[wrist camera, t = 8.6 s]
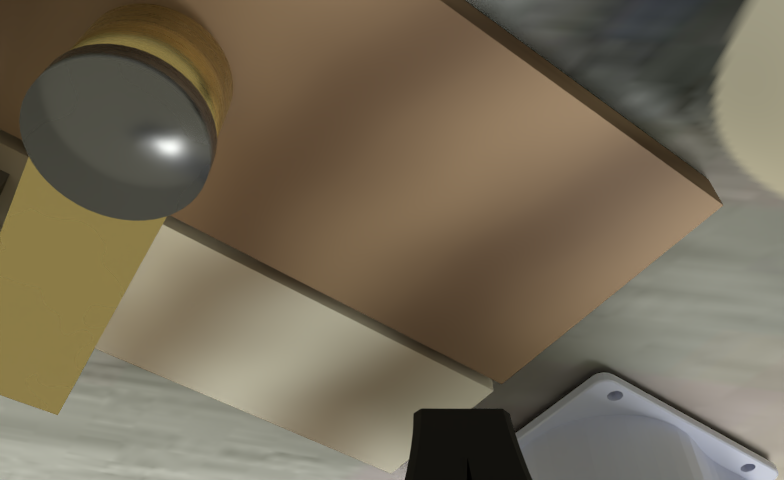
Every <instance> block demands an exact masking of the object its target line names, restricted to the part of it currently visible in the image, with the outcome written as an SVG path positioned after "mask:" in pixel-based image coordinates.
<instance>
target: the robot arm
mask: <svg viewBox="0 0 784 480" xmlns="http://www.w3.org/2000/svg"><path fill="white" fill-rule="evenodd" d="M613 391H614V392H613ZM777 476H778V471H777V468H776V466H775V465H774V464H773V463H772V462H770V461H768V460H767V459H765V458H763V457H761V456H759V455H758V454H756V453H754V452H752V451H750V450H749V449H747V448H745V447H743V446H741V445H740V444H738V443H736V442H734V441H732V440H731V439H729V438H727V437H725V436H723V435H722V434H720V433H718V432H716V431H714V430H713V429H711V428H709V427H707V426H705V425H703V424H702V423H700V422H698V421H696V420H694V419H693V418H691V417H689V416H687V415H685V414H684V413H682V412H680V411H678V410H676V409H675V408H673V407H671V406H669V405H667V404H666V403H664V402H662V401H660V400H658V399H657V398H655V397H653V396H651V395H649V394H648V393H646V392H644V391H642V390H640V389H639V388H637V387H635V386H633V385H631V384H630V383H628V382H626V381H624V380H622V379H620V378H619V377H617V376H615V375H613V374H610V373H604V372H602V373H597V374H595V375H593V376H592V377H590V378H589V379H588V380H586V381H585V382H584V383H582V384H581V385H580V386H578V387H577V388H576V389H574V390H573V391H572V392H570V393H569V394H568V395H566V396H565V397H564V398H562V399H561V400H559V401H558V402H557V403H555V404H554V405H553V406H551V407H550V408H549V409H547V410H546V411H545V412H543V413H542V414H541V415H539V416H538V417H537V418H535V419H534V420H533V421H531V422H530V423H529V424H527V425H526V426H525V427H523V428H522V429H520V430H519V431H518V432H516V433H515V431H514V428H513V425H512V421H511V418H510V414H509V413H508V412H506V411H505V410H504V409H431V408H421V409H420V410H418V411H416V412H415V413H414V415H413V434H412V442H411V450H410V456H409V462H408V467H407V472H406V477H405V480H775V479H776V478H777Z"/></svg>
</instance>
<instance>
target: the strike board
mask: <svg viewBox="0 0 784 480" xmlns="http://www.w3.org/2000/svg"><path fill="white" fill-rule="evenodd" d="M134 3H147V4H156V5H160V6H164V7H168V8H170V9H173V10H176V11H178V12H180V13H182V14H184V15H186V16H188V17H190V18H191V19H193V20H194V21H196V22H197V23H198V24H200V25H201V26H202V27H203V28H205V29H206V30H207V31H208V32H209V33H210V34H211V35H212V36H213V38H214V39H215V40H216V42H217V43H218V44H219V45H220V47H221V49H222V50H223V52H224V54H225V56H226V58H227V60H228V62H229V65H230V68H231V72H232V77H233V97H232V101H231V105H230V108H229V110H228V113H227V115H226V118H225V120H224V123H223V125H222V128H221V130H220V133H219V135H218V138H217V149H216V155H215V158H214V162H213V164H212V167H211V169H210V172H209V175H208V177H207V180H206V182H205V184H204V186H203V188H202V190H201V191H200V193H199V194H198V196H197V197H196V198H195V199H194V200H193V201H192V202H191V203H190V204H188V205H187V206H186V207H184V208H183V209H181V210H180V211H178V212H176V213H174V214H171V215H169V216H167V217H166V219H165V221H164V223H163V225H162V226H161V228H160V230H159V232H158V234H157V236H156V237H155V239H154V241H153V243H152V245H151V246H150V248H149V250H148V252H147V254H146V256H145V257H144V259H143V261H142V263H141V265H140V266H139V268H138V270H137V272H136V274H135V276H134V277H133V279H132V281H131V283H130V285H129V286H128V288H127V290H126V292H125V294H124V295H123V297H122V299H121V301H120V303H119V305H118V306H117V308H116V310H115V312H114V314H113V315H112V317H111V319H110V321H109V323H108V325H107V326H106V328H105V330H104V332H103V334H102V335H101V337H100V339H99V341H98V343H97V345H96V346H95V349H98V350H100V351H102V352H105V353H107V354H109V355H112V356H114V357H117V358H119V359H121V360H124V361H126V362H128V363H131V364H133V365H135V366H138V367H140V368H143V369H145V370H147V371H150V372H152V373H154V374H157V375H159V376H161V377H164V378H166V379H169V380H171V381H173V382H176V383H178V384H180V385H183V386H185V387H187V388H190V389H192V390H195V391H197V392H199V393H202V394H204V395H206V396H209V397H211V398H214V399H216V400H218V401H221V402H223V403H225V404H228V405H230V406H232V407H235V408H237V409H240V410H242V411H244V412H247V413H249V414H251V415H254V416H256V417H258V418H261V419H263V420H266V421H268V422H270V423H273V424H275V425H277V426H280V427H282V428H284V429H287V430H289V431H292V432H294V433H296V434H299V435H301V436H303V437H306V438H308V439H310V440H313V441H315V442H318V443H320V444H322V445H325V446H327V447H329V448H332V449H334V450H337V451H339V452H341V453H344V454H346V455H348V456H351V457H353V458H355V459H358V460H360V461H363V462H365V463H367V464H370V465H372V466H374V467H377V468H379V469H381V470H384V471H386V472H389V473H393V472H394V471H395V470H396V469H398V468H399V467H400V466H401V465H402V464H404V463H405V462H406V461H407V460H409V456H410V450H411V442H412V434H413V415H414V413H415V412H416V411H418V410H420V409H421V408H431V409H472V408H473V407H474V406H475V405H477V404H478V403H479V402H480V401H482V400H483V399H484V398H485V397H487V396H488V395H489V394H490V393H492V392H493V391H494V389H493V381H492V380H494V381H496V382H498V383H500V384H503V383H504V382H505V381H506V380H508V379H509V378H510V377H511V376H513V375H514V374H515V373H516V372H518V371H519V370H520V369H521V368H523V367H524V366H525V365H526V364H527V363H529V362H530V361H531V360H532V359H534V358H535V357H536V356H537V355H539V354H540V353H541V352H542V351H544V350H545V349H546V348H547V347H548V346H550V345H551V344H552V343H553V342H555V341H556V340H557V339H558V338H560V337H561V336H562V335H563V334H565V333H566V332H567V331H568V330H570V329H571V328H572V327H573V326H574V325H576V324H577V323H578V322H579V321H581V320H582V319H583V318H584V317H586V316H587V315H588V314H589V313H591V312H592V311H593V310H594V309H596V308H597V307H598V306H599V305H600V304H602V303H603V302H604V301H605V300H607V299H608V298H609V297H610V296H612V295H613V294H614V293H615V292H617V291H618V290H619V289H620V288H621V287H623V286H624V285H625V284H626V283H628V282H629V281H630V280H631V279H633V278H634V277H635V276H636V275H638V274H639V273H640V272H641V271H643V270H644V269H645V268H646V267H647V266H649V265H650V264H651V263H652V262H654V261H655V260H656V259H657V258H659V257H660V256H661V255H662V254H664V253H665V252H666V251H667V250H669V249H670V248H671V247H672V246H673V245H675V244H676V243H677V242H678V241H680V240H681V239H682V238H683V237H685V236H686V235H687V234H688V233H690V232H691V231H692V230H693V229H694V228H696V227H697V226H698V225H699V224H701V223H702V222H703V221H704V220H706V219H707V218H708V217H709V216H711V215H712V214H713V213H714V212H716V211H717V210H718V209H719V208H720V207H722V206H723V204H722V202H721V200H720V199H719V197H718V195H717V193H716V192H715V190H714V188H713V187H712V185H711V183H710V181H709V180H708V179H707V178H706V177H704V176H703V175H702V174H700V173H699V172H698V171H696V170H695V169H693V168H692V167H691V166H689V165H688V164H687V163H685V162H684V161H683V160H681V159H680V158H679V157H677V156H676V155H674V154H673V153H672V152H670V151H669V150H668V149H666V148H665V147H664V146H662V145H661V144H659V143H658V142H657V141H655V140H654V139H653V138H651V137H650V136H649V135H647V134H646V133H644V132H643V131H642V130H640V129H639V128H638V127H636V126H635V125H634V124H632V123H631V122H630V121H628V120H627V119H625V118H624V117H623V116H621V115H620V114H619V113H617V112H616V111H615V110H613V109H612V108H610V107H609V106H608V105H606V104H605V103H604V102H602V101H601V100H600V99H598V98H597V97H595V96H594V95H593V94H591V93H590V92H589V91H587V90H586V89H585V88H583V87H582V86H580V85H579V84H578V83H576V82H575V81H574V80H572V79H571V78H570V77H568V76H567V75H566V74H564V73H563V72H561V71H560V70H559V69H557V68H556V67H555V66H553V65H552V64H551V63H549V62H548V61H546V60H545V59H544V58H542V57H541V56H540V55H538V54H537V53H536V52H534V51H533V50H531V49H530V48H529V47H527V46H526V45H525V44H523V43H522V42H521V41H519V40H518V39H517V38H515V37H514V36H512V35H511V34H510V33H508V32H507V31H506V30H504V29H503V28H502V27H500V26H499V25H497V24H496V23H495V22H493V21H492V20H491V19H489V18H488V17H487V16H485V15H484V14H482V13H481V12H480V11H478V10H477V9H476V8H474V7H473V6H472V5H470V4H469V3H468V2H466V1H465V0H0V232H1V229H2V227H3V224H4V221H5V219H6V216H7V213H8V211H9V208H10V205H11V203H12V200H13V197H14V195H15V192H16V189H17V187H18V184H19V181H20V179H21V176H22V173H23V171H24V168H25V165H26V163H27V160H28V157H29V156H28V154H27V152H26V149H25V147H24V144H23V141H22V137H21V133H20V124H19V119H20V109H21V105H22V101H23V99H24V97H25V95H26V92H27V91H28V89H29V88H30V87H31V85H32V84H33V83H34V81H35V80H36V79H37V78H38V77H39V76H40V75H41V74H42V72H43V71H44V70H45V69H46V68H47V67H48V66H49V65H50V64H51V63H52V62H53V61H54V60H55V59H56V58H58V57H59V56H61V55H62V54H64V53H66V52H68V51H69V50H70V49H71V48H72V47H73V46H74V45H75V44H76V42H77V41H78V40H79V39H80V38H81V37H82V35H83V34H84V33H85V32H86V31H87V30H88V28H89V27H90V26H91V25H92V24H93V23H94V22H95V21H96V20H97V19H98V18H99V17H100V16H102V15H103V14H105V13H106V12H108V11H110V10H112V9H114V8H116V7H120V6H123V5H128V4H134Z"/></svg>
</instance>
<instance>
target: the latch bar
mask: <svg viewBox="0 0 784 480" xmlns="http://www.w3.org/2000/svg"><path fill="white" fill-rule="evenodd" d="M232 97H233V77H232V72H231V68H230V65H229V62H228V60H227V58H226V56H225V54H224V52H223V50H222V49H221V47H220V45H219V44H218V43H217V42H216V40H215V39H214V38H213V36H212V35H211V34H210V33H209V32H208V31H207V30H206V29H205V28H203V27H202V26H201V25H200V24H198V23H197V22H196V21H194V20H193V19H191V18H190V17H188V16H186V15H184V14H182V13H180V12H178V11H176V10H173V9H170V8H168V7H164V6H160V5H156V4H147V3H134V4H128V5H123V6H120V7H116V8H114V9H112V10H110V11H108V12H106V13H105V14H103V15H102V16H100V17H99V18H98V19H97V20H96V21H95V22H94V23H93V24H92V25H91V26H90V27H89V28H88V30H87V31H86V32H85V33H84V34H83V35H82V37H81V38H80V39H79V40H78V41H77V42H76V44H75V45H74V46H73V47H72V48H71V49H70V50H69V51H68V52H66V53H64V54H62V55H61V56H59V57H58V58H56V59H55V60H54V61H53V62H52V63H51V64H50V65H49V66H48V67H47V68H46V69H45V70H44V71H43V72H42V74H41V75H40V76H39V77H38V78H37V79H36V80H35V81H34V83H33V84H32V85H31V87H30V88H29V89H28V91H27V92H26V95H25V97H24V99H23V101H22V105H21V109H20V119H19V124H20V133H21V137H22V141H23V144H24V147H25V149H26V152H27V154H28V156H29V157H28V160H27V163H26V165H25V168H24V171H23V173H22V176H21V179H20V181H19V184H18V187H17V189H16V192H15V195H14V197H13V200H12V203H11V205H10V208H9V211H8V213H7V216H6V219H5V221H4V224H3V227H2V229H1V232H0V395H2V396H5V397H8V398H10V399H13V400H16V401H19V402H22V403H25V404H28V405H30V406H33V407H36V408H39V409H42V410H45V411H48V412H50V413H53V414H56V415H58V414H59V412H60V410H61V408H62V406H63V405H64V403H65V401H66V399H67V397H68V395H69V394H70V392H71V390H72V388H73V386H74V385H75V383H76V381H77V379H78V377H79V375H80V374H81V372H82V370H83V368H84V366H85V365H86V363H87V361H88V359H89V357H90V355H91V354H92V352H93V350H94V348H95V346H96V345H97V343H98V341H99V339H100V337H101V335H102V334H103V332H104V330H105V328H106V326H107V325H108V323H109V321H110V319H111V317H112V315H113V314H114V312H115V310H116V308H117V306H118V305H119V303H120V301H121V299H122V297H123V295H124V294H125V292H126V290H127V288H128V286H129V285H130V283H131V281H132V279H133V277H134V276H135V274H136V272H137V270H138V268H139V266H140V265H141V263H142V261H143V259H144V257H145V256H146V254H147V252H148V250H149V248H150V246H151V245H152V243H153V241H154V239H155V237H156V236H157V234H158V232H159V230H160V228H161V226H162V225H163V223H164V221H165V219H166V217H167V216H169V215H171V214H174V213H176V212H178V211H180V210H181V209H183V208H184V207H186V206H187V205H188V204H190V203H191V202H192V201H193V200H194V199H195V198H196V197H197V196H198V194H199V193H200V191H201V190H202V188H203V186H204V184H205V182H206V180H207V177H208V175H209V172H210V169H211V167H212V164H213V162H214V158H215V155H216V149H217V138H218V135H219V133H220V130H221V128H222V125H223V123H224V120H225V118H226V115H227V113H228V110H229V108H230V105H231V101H232Z"/></svg>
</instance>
